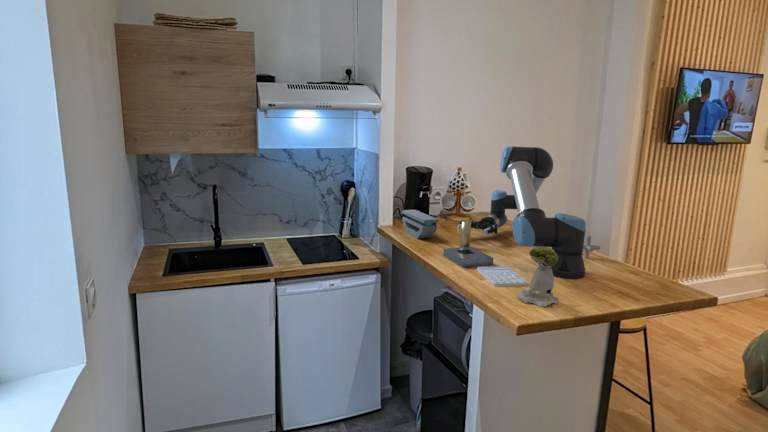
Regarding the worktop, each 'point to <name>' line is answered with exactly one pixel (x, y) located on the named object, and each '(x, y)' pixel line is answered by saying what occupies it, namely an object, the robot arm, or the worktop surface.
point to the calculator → (502, 276)
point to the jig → (468, 257)
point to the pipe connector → (589, 247)
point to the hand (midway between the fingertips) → (470, 230)
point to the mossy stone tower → (541, 278)
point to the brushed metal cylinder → (465, 234)
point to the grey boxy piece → (419, 224)
